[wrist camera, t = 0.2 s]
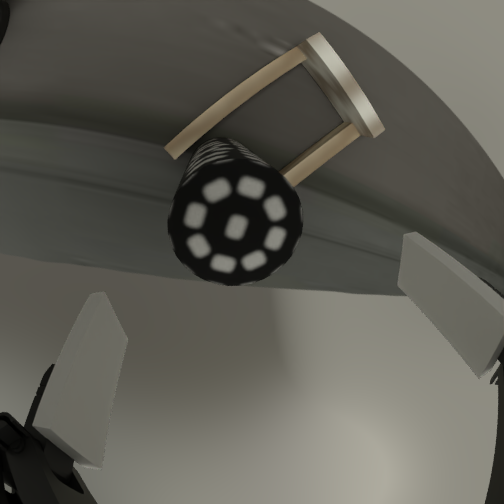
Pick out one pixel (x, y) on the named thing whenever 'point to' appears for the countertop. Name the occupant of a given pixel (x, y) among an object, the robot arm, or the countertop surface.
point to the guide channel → (332, 84)
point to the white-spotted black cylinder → (233, 215)
